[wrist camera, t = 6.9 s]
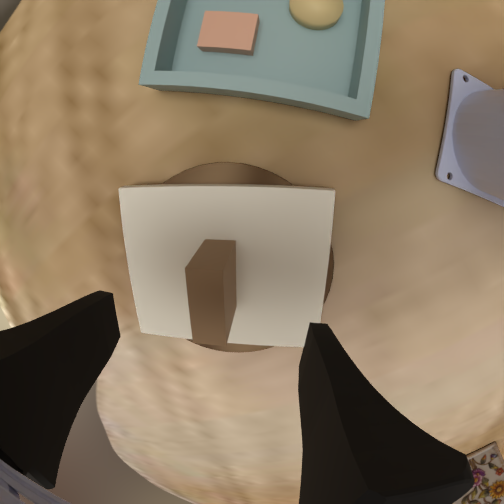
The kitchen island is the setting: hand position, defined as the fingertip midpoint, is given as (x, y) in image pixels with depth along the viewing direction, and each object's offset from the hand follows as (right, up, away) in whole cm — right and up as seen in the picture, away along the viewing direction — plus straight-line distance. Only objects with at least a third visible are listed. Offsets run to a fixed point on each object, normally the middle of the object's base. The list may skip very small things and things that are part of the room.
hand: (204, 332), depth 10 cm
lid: (0, +2, +9) cm, 10 cm away
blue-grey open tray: (+3, +16, +4) cm, 17 cm away
